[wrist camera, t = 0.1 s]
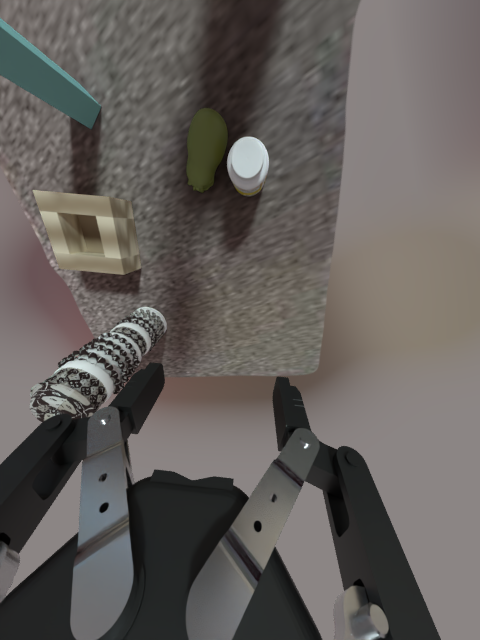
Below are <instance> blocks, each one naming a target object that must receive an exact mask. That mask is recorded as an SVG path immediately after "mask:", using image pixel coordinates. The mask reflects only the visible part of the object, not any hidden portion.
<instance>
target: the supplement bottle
mask: <svg viewBox="0 0 480 640" xmlns="http://www.w3.org/2000/svg"><path fill="white" fill-rule="evenodd" d="M268 167H269V158H268V153H267V150H266V148H265V146H264V145H263V143H262V142H261V141H260V140H258V139H256V138H254V137H243V138H241V139H239V140H238V141H236V142H235V143H234V145H233V146H232V148H231V149H230V152H229V154H228V159H227V169H228V173H229V176H230V179H231V181H232V183H233V185H234V187H235V188H236V190H237V191H238V192H239V193H240V194H241V195H244V196H254V195H256V194H257V193H258V192H260V190H261V189H262V187H263V186H264V183H265V180H266V176H267V172H268Z"/></svg>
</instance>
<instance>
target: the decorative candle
mask: <svg viewBox="0 0 480 640" xmlns="http://www.w3.org/2000/svg"><path fill="white" fill-rule="evenodd" d="M130 315H131V317H129V316H126V318H125V319H123V320H121V321H120V323H117V324H116V327H115V328H113V329H112V330H111V331H110V332H109V333H104V334H101V335H100V337H99V338H97V339H93V340H92V342H89V343H88V344H85V345H84V346H83V348H80V350H79V351H80V352H79V351H74V352H73V353H72V354H70V355H69V356H68V358H67V357H66V358H64V359H62V361H60V362H59V363H58V366H59V368H58V370H57V371H55V372H54V374H53V375H52V376H50V377H49V378H48V379H46V380H45V381H44V382H42V383H38V384H36V385H35V386H34V387H33V388H31V393H30V397H31V401H30V410H31V412H32V414H33V415H34V416H35V417H36V418H37V419H38V420H39V421H41V422H44V421H45V420H47V419H49V418H50V417H52V416H55V415H58V414H69V415H70V416H71V417H72V419H79V418H85V417H90V416H92V415H93V414H94V413H95V412H96V411H97V410H98V409H99V407H100V406H101V404H103V403H105V402H106V401H107V400H108V399H109V398H110V396H111V395H112V393H114V394H117V393H119V391H120V389H122V388H123V387H124V383H125V382H127V381H128V380H129V379H128V377H130V376H131V375H132V373H134V372H135V369H134V368H137V367H138V365H139V363H140V361H141V359H142V356H144V355H145V354H146V353H147V352H148V351H151V349H152V347H154V346H155V343H157V342H158V341H159V339H160V338H161V337H162V335H163V334H164V333H165V331H166V329H167V322H166V320H165V318H164V316H163V315H162V314H161V313H160V312H159V311H157V310H155V309H154V308H150V307H141V308H138V309H137V310H135V312H134V313H131V314H130ZM86 350H87V351H86ZM78 355H79V357H78V358H77V357H75V356H78ZM74 359H75V360H74Z"/></svg>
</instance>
